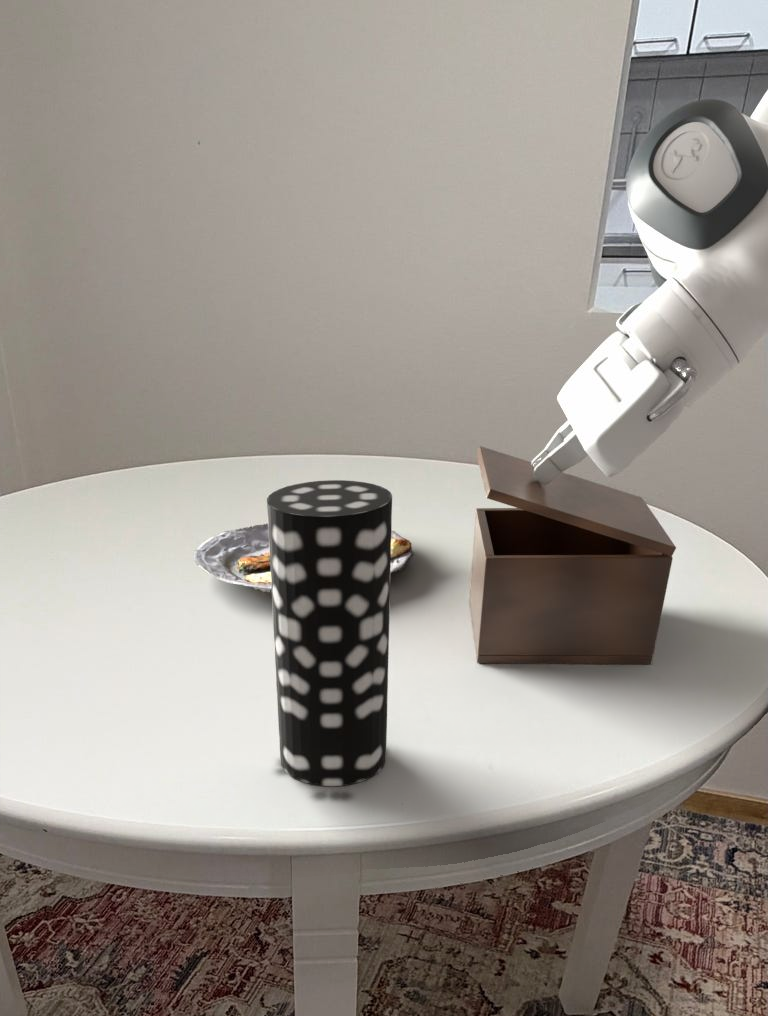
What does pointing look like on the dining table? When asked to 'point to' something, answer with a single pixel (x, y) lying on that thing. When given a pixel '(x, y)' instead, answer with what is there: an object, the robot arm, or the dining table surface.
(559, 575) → the chest
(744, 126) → the robot arm
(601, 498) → the lid
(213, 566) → the food plate
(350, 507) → the white-spotted black cylinder
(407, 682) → the dining table surface
